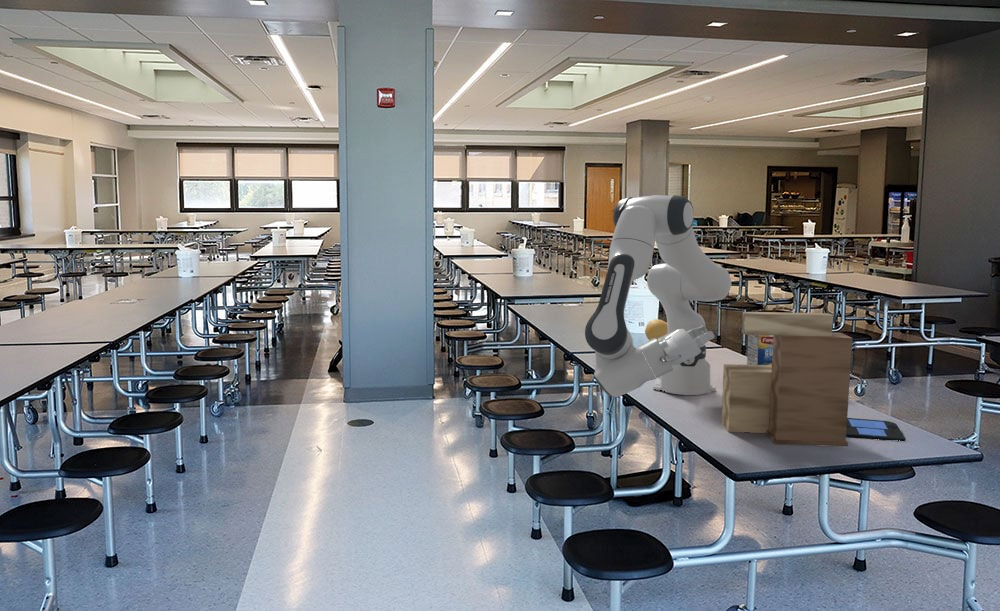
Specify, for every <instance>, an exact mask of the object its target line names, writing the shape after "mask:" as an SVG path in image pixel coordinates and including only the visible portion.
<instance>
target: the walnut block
mask: <svg viewBox="0 0 1000 611" xmlns="http://www.w3.org/2000/svg"><path fill="white" fill-rule="evenodd" d="M852 350H853V337H852V336H848V335H847V334H844V333H842V332H832V336H785V335H773V354H772V374H771V393H770V413H769V430H766V433H765V434H766V436H768V438H769V439H770V440H771V442H772V443H773V444H774V445H781V446H782V445H783V446H784V445H785V446H786V445H787V446H788V445H789V446H812V447H813V446H819V447H846V448H847V447H849V442H848V441H847V437H846V430H847V418H848V411H849V400H850V399H849V398H850V397H849V395H850V382H851V380H850V379H851V367H852V366H851V364H852Z"/></svg>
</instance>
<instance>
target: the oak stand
mask: <svg viewBox="0 0 1000 611" xmlns="http://www.w3.org/2000/svg"><path fill="white" fill-rule="evenodd" d="M722 373H723V375H722V376H723V377H722V397H721V424H722V423H723V424H722V425H723V427H724V426H725V427H724V428H725V429H726V431H727V430H728V431H727V432H728V433H744V432H750V434H751V433H753V434H766V430H769V413H770V393H771V374H772V365H747V364H734V363H733V364H729V363H728V364H726V363H725V364H723V372H722Z"/></svg>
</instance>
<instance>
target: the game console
mask: <svg viewBox="0 0 1000 611" xmlns="http://www.w3.org/2000/svg"><path fill="white" fill-rule="evenodd" d="M846 438H850V439H851V438H852V439H864V440H873V439H877V440H876V441H886V440H898V441H897V442H899V440H900V441H905V442H906V437H905V436H904V434H903V432H902V430H901V429H900V427H899V426H898V424H897V423H896V422H893V421H888V420H880V419H879V420H878V419H866V418H853V417H847V430H846ZM878 439H879V440H878Z"/></svg>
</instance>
